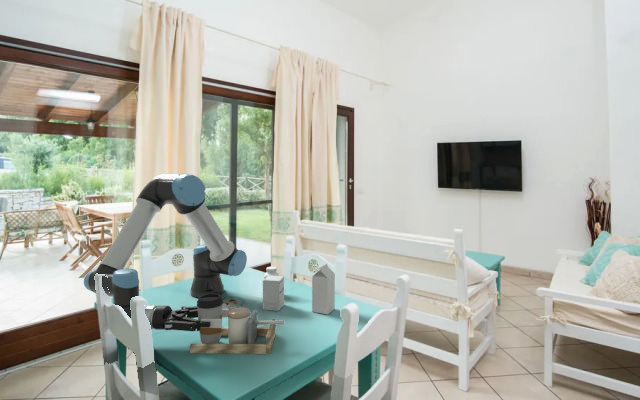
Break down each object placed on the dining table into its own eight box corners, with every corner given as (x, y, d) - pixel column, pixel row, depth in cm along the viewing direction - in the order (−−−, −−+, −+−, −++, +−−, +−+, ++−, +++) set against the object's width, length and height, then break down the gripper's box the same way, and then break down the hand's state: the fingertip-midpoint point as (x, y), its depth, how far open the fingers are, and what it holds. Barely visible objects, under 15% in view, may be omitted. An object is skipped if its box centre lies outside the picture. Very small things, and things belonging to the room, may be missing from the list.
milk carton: (334, 308, 146) (335, 264, 145) (327, 315, 140) (328, 268, 139) (319, 306, 149) (319, 262, 148) (312, 312, 143) (312, 266, 142)
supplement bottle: (267, 298, 159) (266, 270, 158) (262, 293, 165) (262, 267, 164) (280, 295, 162) (280, 268, 161) (275, 291, 168) (275, 265, 167)
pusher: (247, 350, 111) (247, 322, 111) (254, 335, 122) (253, 310, 121) (282, 350, 111) (282, 323, 111) (285, 335, 122) (285, 310, 121)
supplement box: (279, 311, 144) (279, 281, 143) (262, 309, 145) (262, 280, 144) (284, 304, 151) (284, 275, 150) (268, 303, 153) (268, 274, 152)
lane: (189, 353, 110) (189, 336, 110) (204, 333, 124) (203, 318, 123) (269, 353, 110) (269, 336, 110) (275, 334, 123) (275, 318, 123)
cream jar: (223, 346, 115) (222, 314, 114) (236, 336, 121) (235, 306, 121) (242, 350, 112) (242, 317, 111) (254, 340, 119) (254, 309, 118)
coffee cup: (201, 335, 120) (200, 293, 119) (226, 335, 121) (225, 292, 119) (194, 347, 112) (193, 302, 110) (221, 347, 112) (220, 301, 111)
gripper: (170, 315, 126) (233, 316, 126) (140, 343, 106) (215, 344, 105) (169, 295, 126) (233, 296, 125) (139, 319, 105) (215, 319, 105)
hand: (225, 318), depth 115 cm, fingers closed on coffee cup, 7 cm apart
